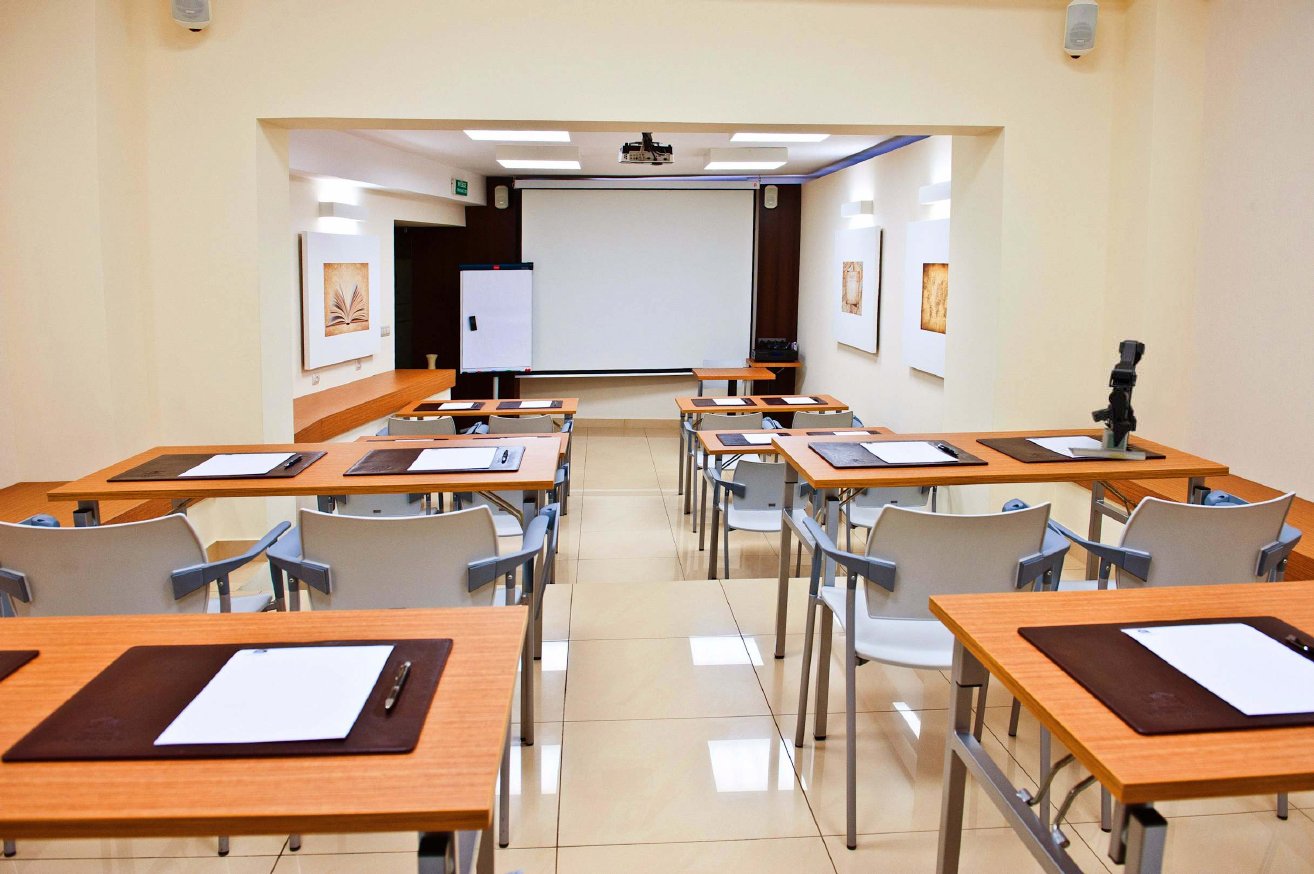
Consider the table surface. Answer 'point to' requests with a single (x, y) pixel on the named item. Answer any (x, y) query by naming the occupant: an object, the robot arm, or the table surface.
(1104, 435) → the tea box
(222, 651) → the table surface
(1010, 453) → the table surface
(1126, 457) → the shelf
